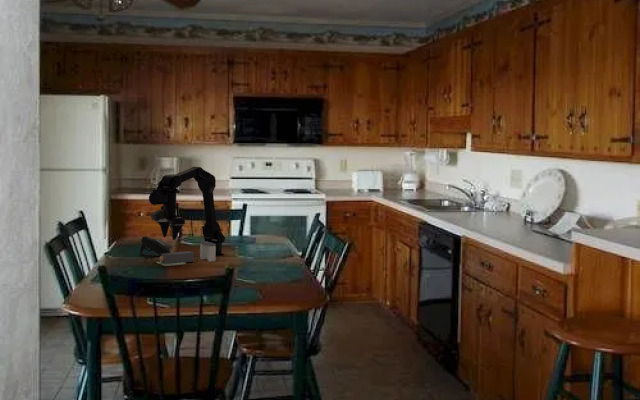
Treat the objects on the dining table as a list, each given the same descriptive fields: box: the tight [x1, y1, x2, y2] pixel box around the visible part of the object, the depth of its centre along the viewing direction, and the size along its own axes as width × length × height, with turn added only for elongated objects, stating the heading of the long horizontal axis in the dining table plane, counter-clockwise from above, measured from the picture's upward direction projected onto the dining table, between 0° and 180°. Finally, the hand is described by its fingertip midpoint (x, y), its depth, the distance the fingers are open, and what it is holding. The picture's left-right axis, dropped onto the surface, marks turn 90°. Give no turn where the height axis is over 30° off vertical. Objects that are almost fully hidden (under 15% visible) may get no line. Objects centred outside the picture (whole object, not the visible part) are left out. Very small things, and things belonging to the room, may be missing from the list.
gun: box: [139, 236, 171, 257], centre depth 331 cm, size 3×16×10 cm, turn 79°
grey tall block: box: [159, 250, 195, 264], centre depth 316 cm, size 15×4×4 cm, turn 129°
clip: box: [199, 240, 217, 263], centre depth 326 cm, size 3×9×8 cm, turn 39°
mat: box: [155, 261, 187, 267], centre depth 315 cm, size 10×9×1 cm
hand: (169, 238), depth 313 cm, fingers open, 9 cm apart
